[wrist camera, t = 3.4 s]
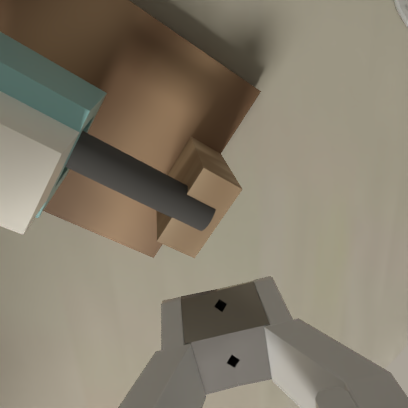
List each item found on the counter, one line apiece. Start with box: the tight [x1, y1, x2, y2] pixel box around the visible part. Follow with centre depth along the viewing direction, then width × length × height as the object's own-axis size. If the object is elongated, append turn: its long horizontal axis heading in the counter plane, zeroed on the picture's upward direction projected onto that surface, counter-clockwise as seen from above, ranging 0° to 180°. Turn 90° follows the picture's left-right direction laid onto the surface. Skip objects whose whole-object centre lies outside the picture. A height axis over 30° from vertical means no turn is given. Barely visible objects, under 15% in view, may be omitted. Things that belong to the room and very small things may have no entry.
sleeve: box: [0, 32, 107, 235], centre depth 12 cm, size 4×4×7 cm
